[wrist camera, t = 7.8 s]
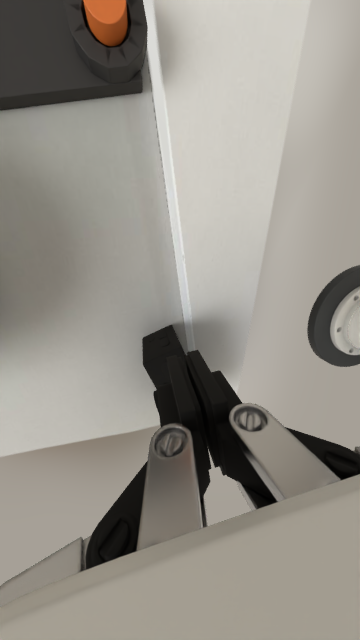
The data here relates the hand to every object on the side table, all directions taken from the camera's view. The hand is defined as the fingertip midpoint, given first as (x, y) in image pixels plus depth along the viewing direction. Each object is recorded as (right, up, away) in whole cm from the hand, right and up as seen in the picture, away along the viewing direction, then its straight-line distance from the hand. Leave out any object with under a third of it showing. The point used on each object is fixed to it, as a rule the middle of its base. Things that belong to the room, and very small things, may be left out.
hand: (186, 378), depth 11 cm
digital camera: (-2, -3, +18) cm, 19 cm away
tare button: (-6, +26, +5) cm, 27 cm away
